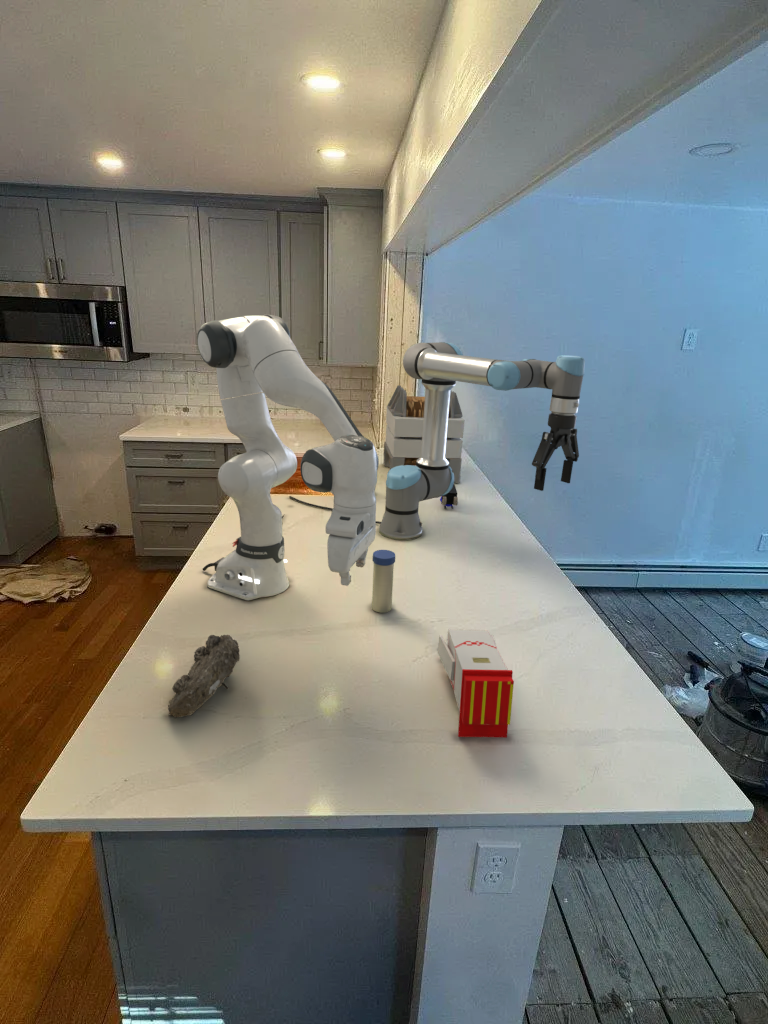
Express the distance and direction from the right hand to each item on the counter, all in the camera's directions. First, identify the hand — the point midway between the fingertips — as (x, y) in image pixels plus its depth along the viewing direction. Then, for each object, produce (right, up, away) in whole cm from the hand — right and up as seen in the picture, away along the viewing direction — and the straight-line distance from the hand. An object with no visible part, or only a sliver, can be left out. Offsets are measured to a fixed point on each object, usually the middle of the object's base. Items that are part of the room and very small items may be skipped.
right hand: (552, 485), depth 166 cm
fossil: (-85, -44, -49) cm, 107 cm away
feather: (-87, -10, +44) cm, 97 cm away
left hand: (-56, -21, -43) cm, 74 cm away
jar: (-50, -33, -15) cm, 62 cm away
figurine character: (-23, -5, +66) cm, 70 cm away
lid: (-49, -19, -21) cm, 56 cm away
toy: (-31, -45, -47) cm, 72 cm away
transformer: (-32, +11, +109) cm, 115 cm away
